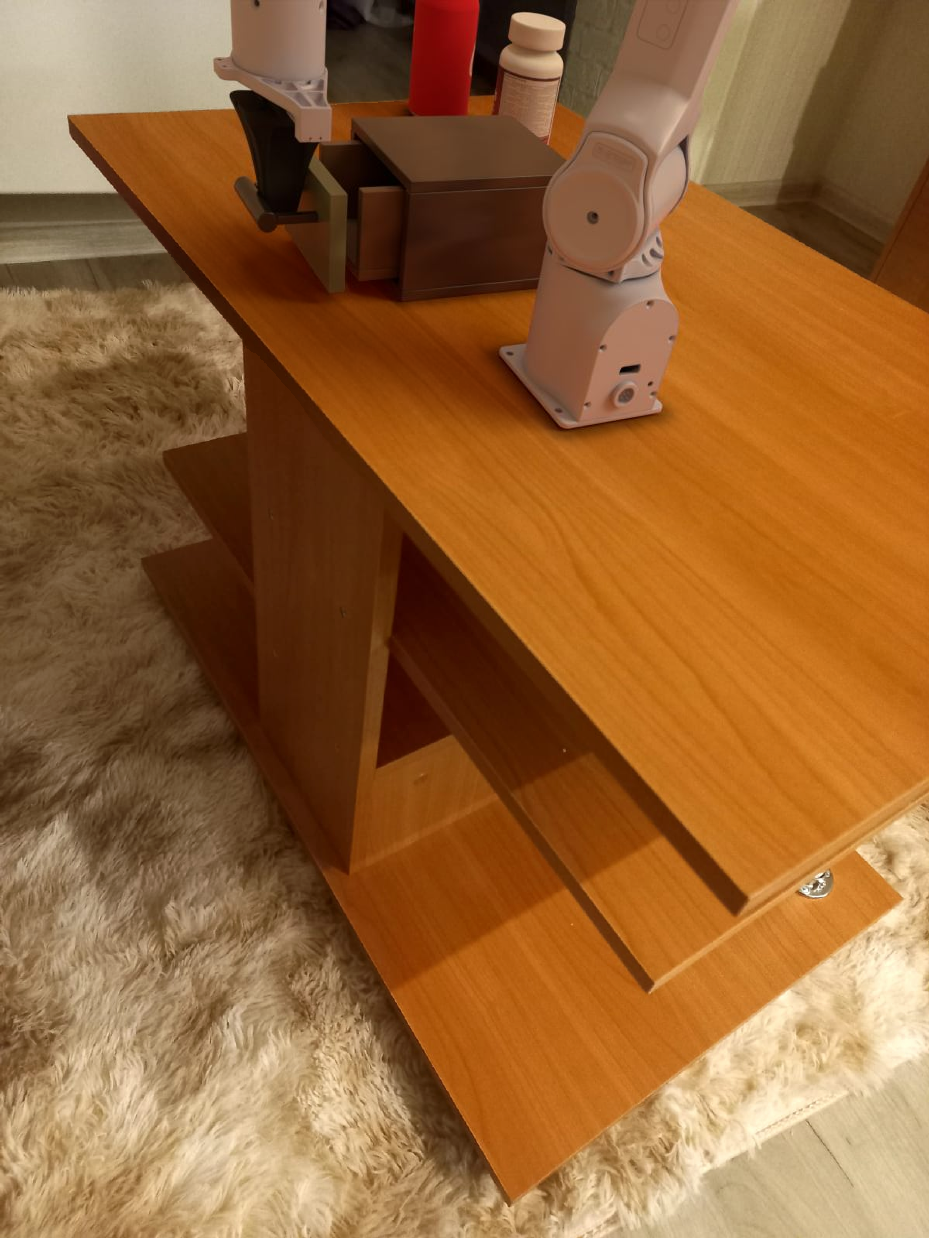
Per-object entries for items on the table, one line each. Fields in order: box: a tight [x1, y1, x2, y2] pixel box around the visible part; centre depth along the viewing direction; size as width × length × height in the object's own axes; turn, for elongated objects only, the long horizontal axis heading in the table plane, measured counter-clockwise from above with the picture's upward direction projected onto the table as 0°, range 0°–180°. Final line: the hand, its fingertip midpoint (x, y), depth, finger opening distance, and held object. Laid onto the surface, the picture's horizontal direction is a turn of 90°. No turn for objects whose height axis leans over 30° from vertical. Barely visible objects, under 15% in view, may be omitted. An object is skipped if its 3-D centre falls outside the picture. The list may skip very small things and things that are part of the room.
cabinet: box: [349, 114, 568, 303], centre depth 67 cm, size 14×12×9 cm
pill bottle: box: [491, 11, 566, 146], centre depth 85 cm, size 6×6×11 cm
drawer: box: [233, 139, 406, 294], centre depth 64 cm, size 17×10×7 cm, turn 115°
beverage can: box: [407, 0, 480, 117], centre depth 88 cm, size 6×6×12 cm
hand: (279, 211), depth 62 cm, fingers closed, pressing on drawer
